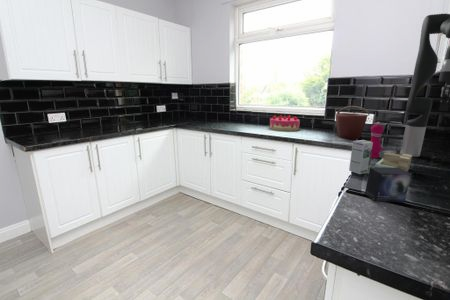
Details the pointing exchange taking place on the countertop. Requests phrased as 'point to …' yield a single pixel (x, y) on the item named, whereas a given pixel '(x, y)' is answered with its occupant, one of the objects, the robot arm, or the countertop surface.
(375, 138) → the pepper mill
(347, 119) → the bucket
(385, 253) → the countertop surface
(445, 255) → the countertop surface
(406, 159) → the tee block
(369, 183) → the small box
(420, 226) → the countertop surface
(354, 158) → the syrup box
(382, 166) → the pocket
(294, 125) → the cake
